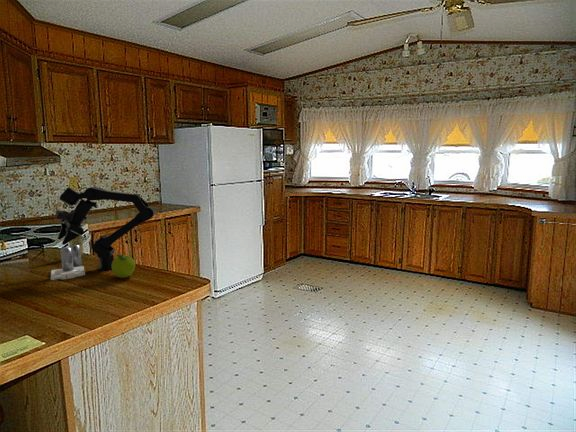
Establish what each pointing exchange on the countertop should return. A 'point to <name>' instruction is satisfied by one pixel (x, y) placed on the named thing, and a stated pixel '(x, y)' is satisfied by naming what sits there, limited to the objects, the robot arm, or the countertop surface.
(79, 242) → the sauce bottle
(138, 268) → the countertop surface
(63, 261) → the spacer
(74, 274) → the scale
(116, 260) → the fruit
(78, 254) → the cylinder
